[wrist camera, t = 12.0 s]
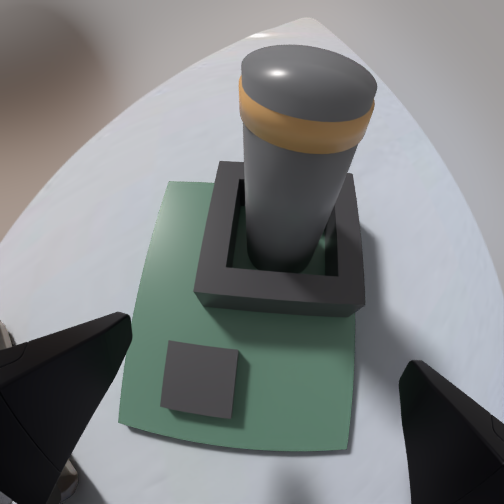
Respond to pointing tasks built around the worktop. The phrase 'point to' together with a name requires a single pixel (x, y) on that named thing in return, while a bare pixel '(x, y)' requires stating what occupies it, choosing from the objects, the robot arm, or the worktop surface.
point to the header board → (243, 328)
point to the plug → (297, 146)
